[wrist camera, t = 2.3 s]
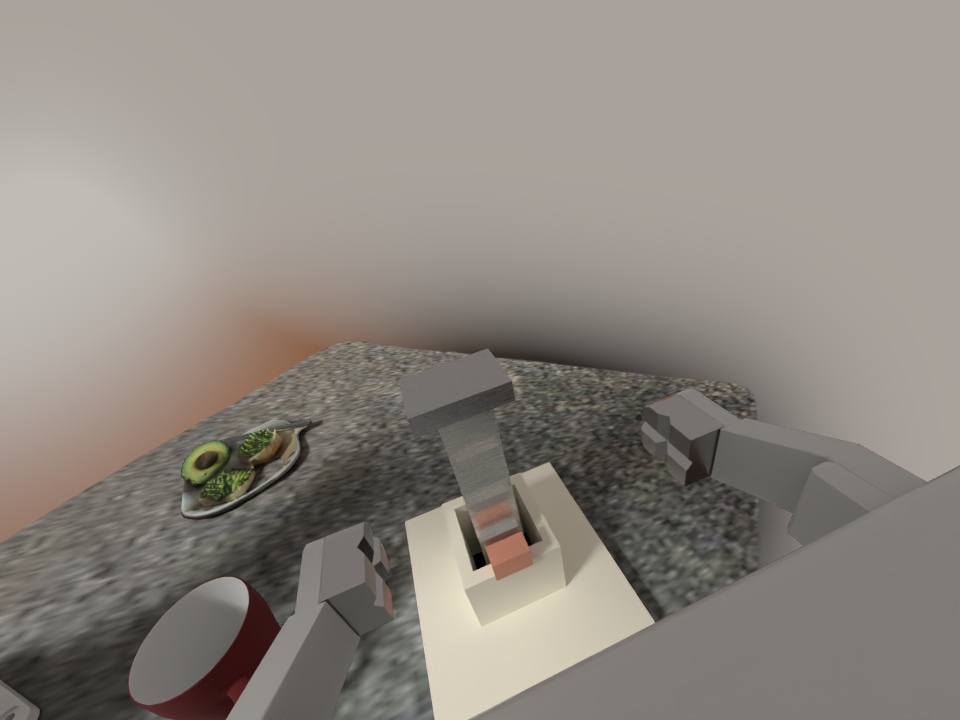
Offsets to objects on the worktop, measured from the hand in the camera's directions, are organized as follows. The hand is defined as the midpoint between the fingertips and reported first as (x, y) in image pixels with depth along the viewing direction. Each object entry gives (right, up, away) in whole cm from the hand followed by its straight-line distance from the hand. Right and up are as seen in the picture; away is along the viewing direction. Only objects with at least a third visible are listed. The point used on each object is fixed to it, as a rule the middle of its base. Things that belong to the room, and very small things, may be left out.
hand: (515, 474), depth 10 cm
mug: (-19, -25, +21) cm, 38 cm away
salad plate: (-38, -14, +46) cm, 62 cm away
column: (+2, -17, +25) cm, 31 cm away
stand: (+2, -17, +25) cm, 31 cm away
